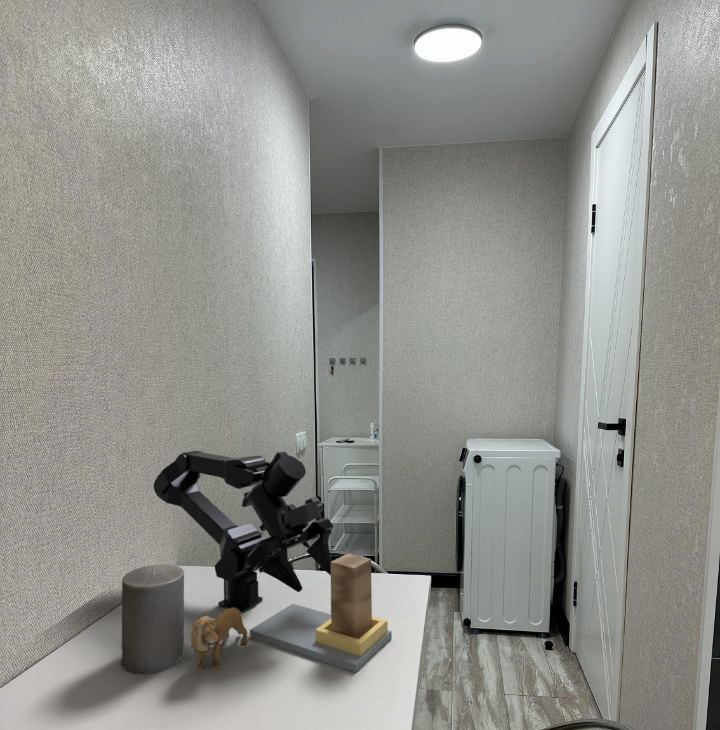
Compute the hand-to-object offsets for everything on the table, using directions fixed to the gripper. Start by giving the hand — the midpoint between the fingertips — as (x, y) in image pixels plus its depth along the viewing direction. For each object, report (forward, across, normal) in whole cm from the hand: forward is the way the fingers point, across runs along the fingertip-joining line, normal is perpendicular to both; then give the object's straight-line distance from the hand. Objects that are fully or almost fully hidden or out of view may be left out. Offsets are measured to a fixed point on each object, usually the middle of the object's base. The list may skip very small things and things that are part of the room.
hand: (317, 582), depth 94 cm
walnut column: (+11, 0, 0) cm, 11 cm away
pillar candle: (-5, -21, +19) cm, 29 cm away
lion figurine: (+1, -16, +12) cm, 20 cm away
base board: (+8, -1, +5) cm, 9 cm away
